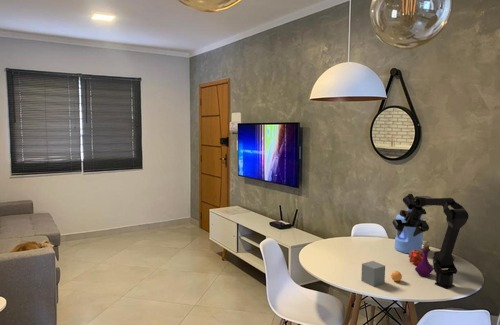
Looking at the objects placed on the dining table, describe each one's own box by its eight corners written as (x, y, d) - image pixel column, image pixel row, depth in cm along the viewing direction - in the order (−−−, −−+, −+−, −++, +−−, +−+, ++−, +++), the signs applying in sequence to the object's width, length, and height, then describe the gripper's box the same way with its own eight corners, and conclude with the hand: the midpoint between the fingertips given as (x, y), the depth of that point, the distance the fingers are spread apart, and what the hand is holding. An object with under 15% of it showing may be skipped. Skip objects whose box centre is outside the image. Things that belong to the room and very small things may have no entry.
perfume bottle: (418, 270, 200) (420, 237, 198) (433, 274, 195) (435, 240, 193) (414, 275, 194) (415, 241, 192) (429, 278, 190) (431, 244, 188)
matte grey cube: (384, 283, 184) (385, 265, 183) (373, 286, 180) (374, 268, 179) (372, 277, 191) (372, 260, 190) (361, 280, 187) (361, 263, 186)
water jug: (416, 246, 240) (419, 203, 237) (425, 254, 224) (428, 208, 221) (391, 245, 241) (393, 202, 238) (398, 253, 226) (400, 207, 223)
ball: (403, 281, 186) (404, 271, 185) (397, 283, 183) (397, 274, 183) (395, 278, 190) (395, 268, 190) (388, 280, 188) (389, 270, 187)
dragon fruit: (412, 262, 216) (422, 273, 205) (401, 254, 215) (411, 265, 203) (423, 251, 215) (433, 262, 203) (412, 243, 213) (421, 253, 202)
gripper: (425, 206, 210) (415, 226, 219) (393, 204, 208) (384, 225, 217) (434, 219, 201) (423, 240, 210) (401, 218, 199) (391, 239, 208)
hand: (405, 235), depth 211 cm, fingers open, 9 cm apart
